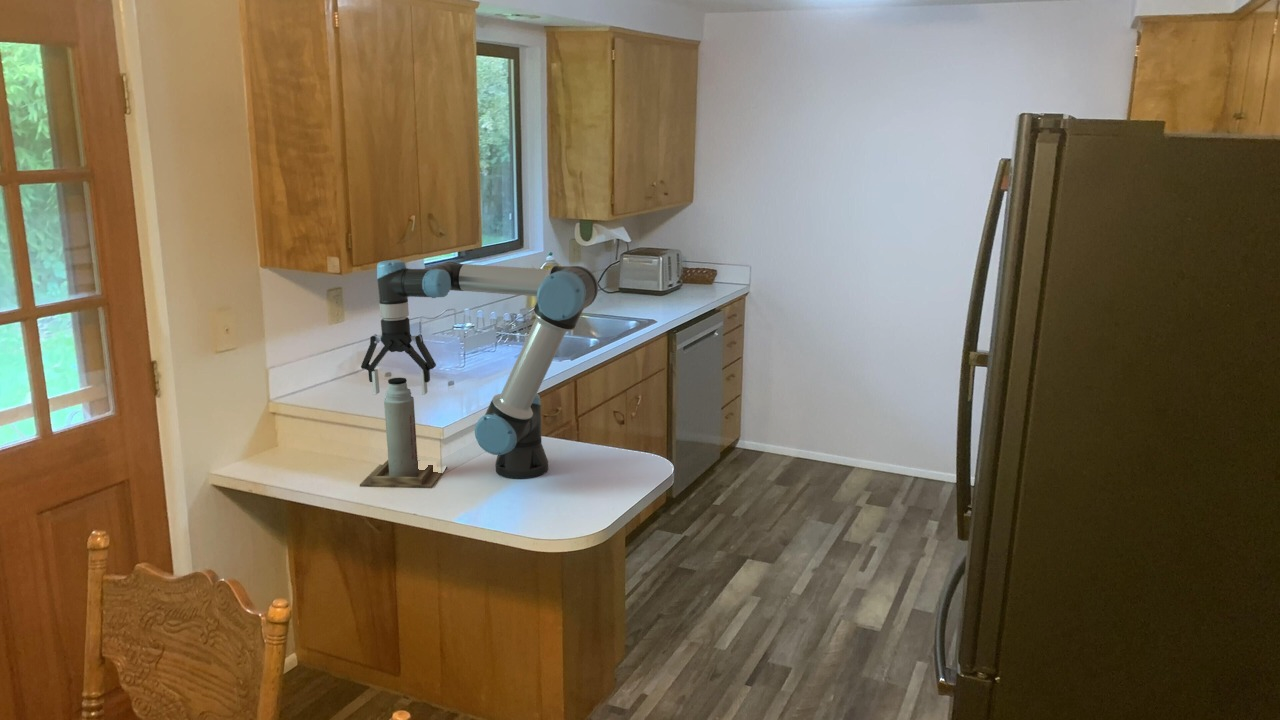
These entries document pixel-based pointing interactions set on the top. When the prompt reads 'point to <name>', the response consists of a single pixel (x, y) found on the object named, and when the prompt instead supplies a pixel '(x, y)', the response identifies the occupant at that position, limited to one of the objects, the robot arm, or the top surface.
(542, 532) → the top surface
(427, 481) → the brown wooden tray
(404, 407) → the thermos bottle
